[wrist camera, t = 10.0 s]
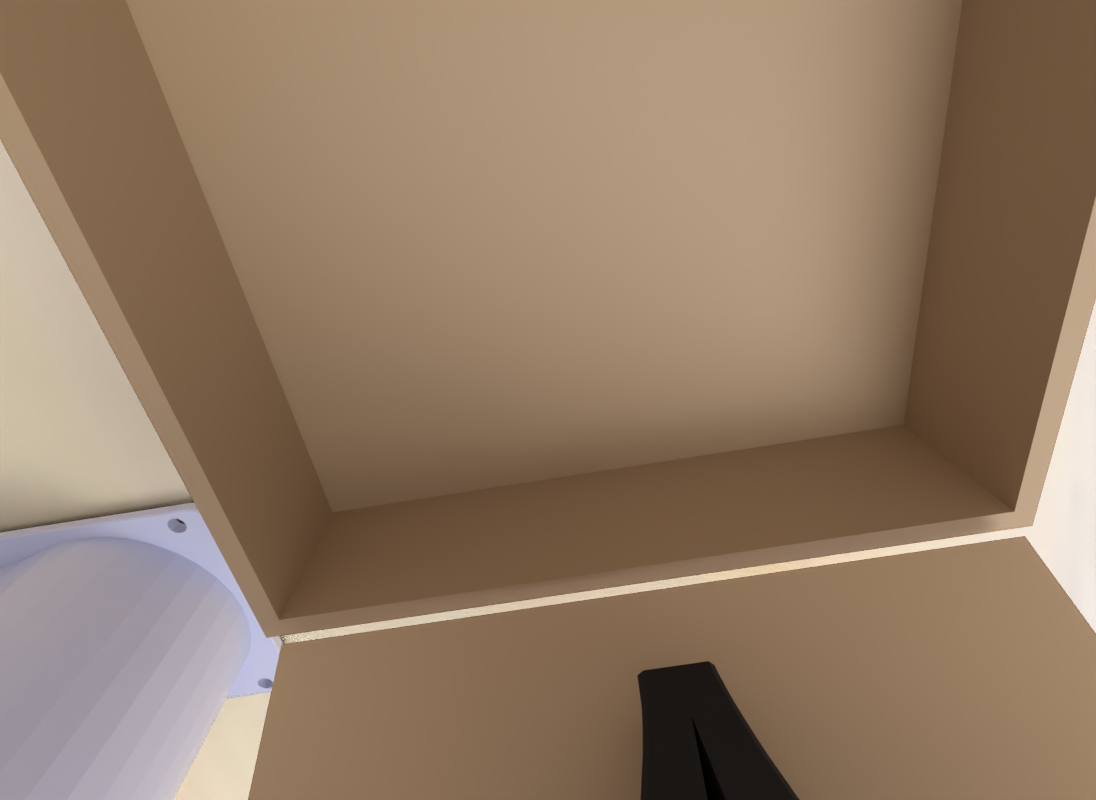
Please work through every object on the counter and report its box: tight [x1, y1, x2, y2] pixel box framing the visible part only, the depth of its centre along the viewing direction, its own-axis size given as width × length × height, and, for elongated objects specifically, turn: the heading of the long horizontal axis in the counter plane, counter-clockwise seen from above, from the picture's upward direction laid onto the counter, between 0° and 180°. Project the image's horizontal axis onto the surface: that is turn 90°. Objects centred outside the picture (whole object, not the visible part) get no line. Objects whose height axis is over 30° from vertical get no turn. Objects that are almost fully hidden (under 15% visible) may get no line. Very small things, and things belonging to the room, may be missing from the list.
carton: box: [0, 0, 1096, 638], centre depth 11 cm, size 18×17×4 cm
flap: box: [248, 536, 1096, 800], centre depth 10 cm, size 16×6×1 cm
